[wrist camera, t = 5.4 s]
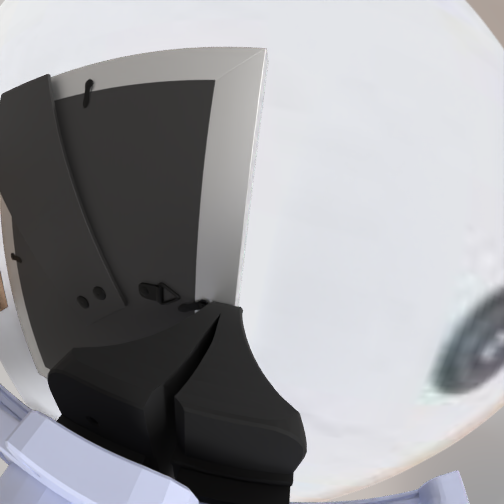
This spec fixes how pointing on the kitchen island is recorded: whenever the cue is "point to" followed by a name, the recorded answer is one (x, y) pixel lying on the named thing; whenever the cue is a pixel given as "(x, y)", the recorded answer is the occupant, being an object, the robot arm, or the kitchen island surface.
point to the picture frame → (128, 193)
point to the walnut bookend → (2, 296)
